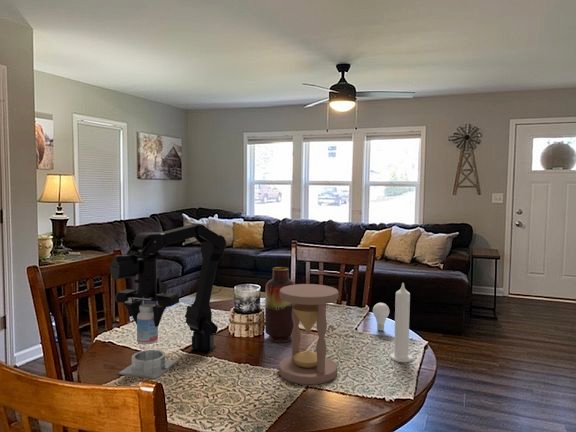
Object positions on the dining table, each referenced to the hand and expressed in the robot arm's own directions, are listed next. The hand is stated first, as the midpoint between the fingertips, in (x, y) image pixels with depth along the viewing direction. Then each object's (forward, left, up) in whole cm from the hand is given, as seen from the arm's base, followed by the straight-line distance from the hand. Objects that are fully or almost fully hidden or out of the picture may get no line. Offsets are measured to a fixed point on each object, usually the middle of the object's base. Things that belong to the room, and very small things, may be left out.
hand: (147, 325), depth 135 cm
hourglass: (-48, -10, -13) cm, 51 cm away
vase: (-32, -36, -13) cm, 50 cm away
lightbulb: (-67, -56, -13) cm, 88 cm away
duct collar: (-1, +1, -13) cm, 13 cm away
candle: (-75, -29, -13) cm, 81 cm away
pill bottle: (0, 0, -5) cm, 5 cm away
